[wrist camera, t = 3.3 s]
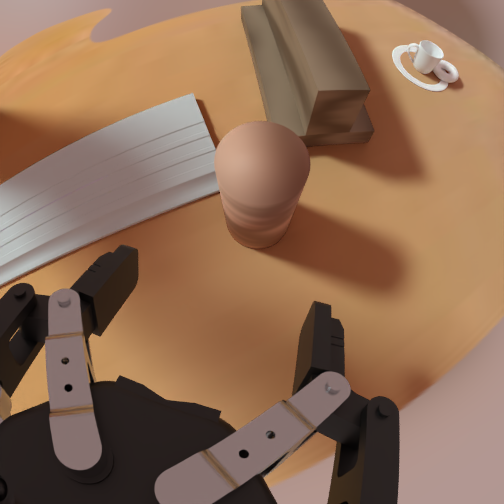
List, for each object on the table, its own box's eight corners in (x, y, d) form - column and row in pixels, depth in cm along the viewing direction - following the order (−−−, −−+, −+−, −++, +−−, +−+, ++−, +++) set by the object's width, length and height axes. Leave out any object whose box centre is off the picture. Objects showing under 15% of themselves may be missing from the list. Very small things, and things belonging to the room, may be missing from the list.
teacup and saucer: (455, 75, 31) (469, 57, 27) (445, 108, 30) (461, 89, 26) (400, 39, 32) (410, 19, 28) (383, 67, 31) (394, 44, 27)
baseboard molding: (236, 205, 27) (194, 102, 29) (234, 192, 24) (190, 83, 26) (-27, 316, 24) (-36, 219, 27) (-45, 314, 22) (-51, 212, 24)
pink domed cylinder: (231, 253, 26) (220, 212, 16) (222, 194, 27) (209, 127, 17) (293, 243, 26) (320, 197, 16) (282, 186, 27) (298, 116, 17)
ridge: (274, 150, 27) (282, 92, 20) (241, 18, 31) (240, -33, 24) (367, 142, 28) (398, 90, 20) (312, 15, 32) (321, -33, 24)
